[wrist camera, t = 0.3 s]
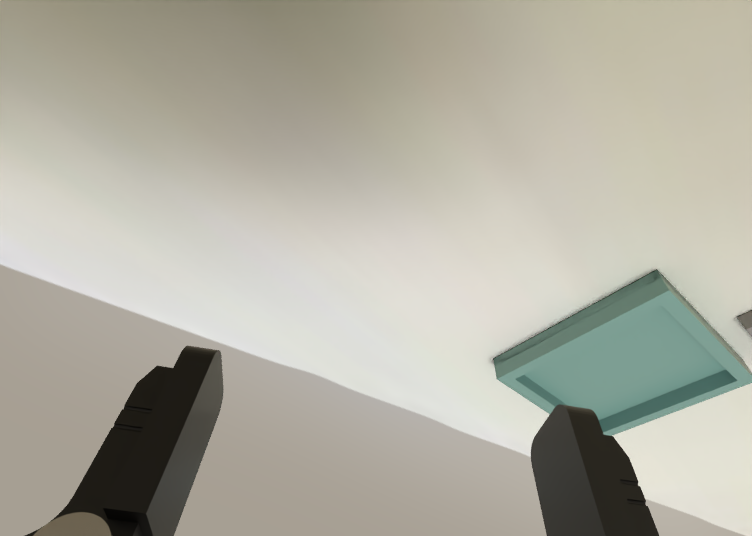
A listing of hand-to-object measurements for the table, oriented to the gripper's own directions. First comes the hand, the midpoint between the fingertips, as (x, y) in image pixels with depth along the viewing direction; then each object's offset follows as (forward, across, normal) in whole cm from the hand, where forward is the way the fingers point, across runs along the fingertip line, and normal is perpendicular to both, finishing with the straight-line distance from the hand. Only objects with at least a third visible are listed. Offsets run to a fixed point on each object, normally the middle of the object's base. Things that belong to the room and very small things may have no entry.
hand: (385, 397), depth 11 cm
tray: (+20, -21, +17) cm, 34 cm away
